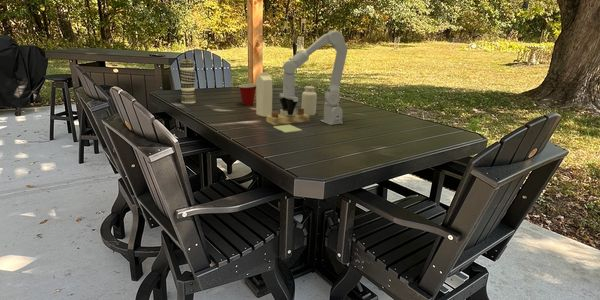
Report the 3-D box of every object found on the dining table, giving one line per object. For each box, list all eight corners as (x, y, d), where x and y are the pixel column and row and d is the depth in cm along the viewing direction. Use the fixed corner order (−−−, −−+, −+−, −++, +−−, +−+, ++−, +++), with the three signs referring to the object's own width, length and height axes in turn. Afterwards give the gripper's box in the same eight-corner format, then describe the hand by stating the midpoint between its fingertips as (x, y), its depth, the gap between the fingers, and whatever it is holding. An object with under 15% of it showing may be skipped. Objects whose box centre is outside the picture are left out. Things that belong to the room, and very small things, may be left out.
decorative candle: (180, 100, 235) (177, 58, 227) (196, 100, 238) (194, 58, 230) (180, 103, 226) (178, 60, 219) (196, 103, 229) (194, 60, 222)
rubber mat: (302, 130, 176) (302, 129, 176) (285, 132, 172) (285, 132, 171) (289, 125, 185) (289, 124, 185) (273, 127, 180) (273, 126, 180)
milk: (272, 115, 205) (273, 73, 198) (262, 116, 201) (263, 73, 194) (264, 113, 209) (265, 72, 203) (255, 114, 205) (256, 72, 199)
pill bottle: (316, 116, 207) (317, 88, 202) (301, 115, 207) (302, 87, 202) (315, 113, 214) (317, 86, 210) (301, 112, 215) (302, 85, 210)
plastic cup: (236, 103, 233) (235, 83, 229) (253, 102, 237) (253, 83, 234) (241, 107, 223) (241, 86, 220) (259, 106, 228) (259, 85, 224)
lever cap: (292, 114, 195) (292, 108, 194) (296, 115, 192) (296, 109, 191) (280, 115, 192) (280, 109, 191) (284, 116, 188) (284, 110, 188)
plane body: (300, 118, 201) (300, 106, 199) (309, 121, 195) (309, 109, 193) (266, 121, 191) (266, 109, 189) (274, 125, 184) (274, 112, 183)
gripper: (274, 84, 191) (274, 111, 195) (289, 88, 180) (288, 117, 184) (286, 84, 195) (286, 110, 199) (302, 88, 183) (301, 116, 187)
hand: (288, 113), depth 192 cm, fingers closed on lever cap, 4 cm apart
